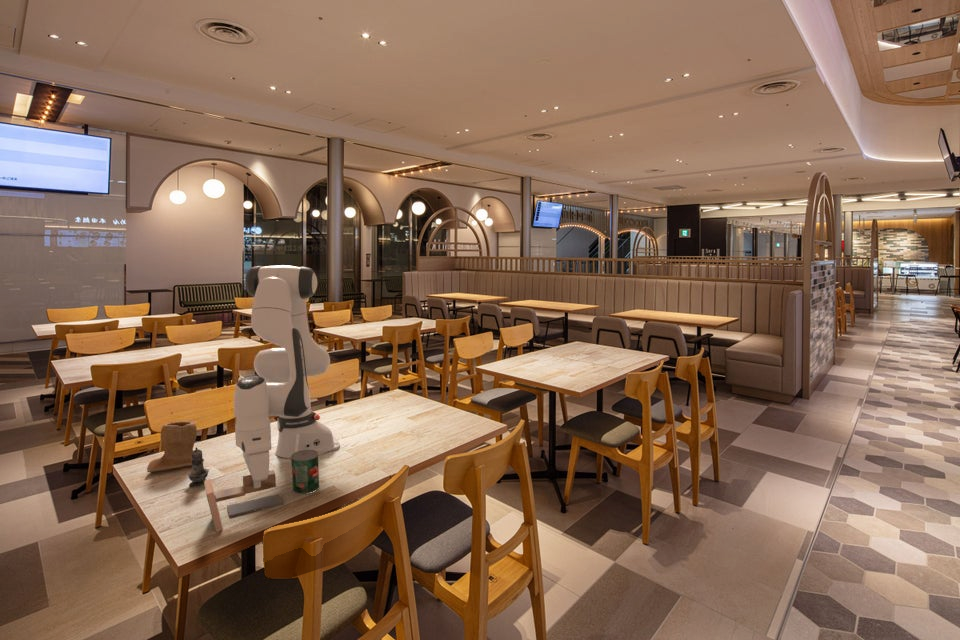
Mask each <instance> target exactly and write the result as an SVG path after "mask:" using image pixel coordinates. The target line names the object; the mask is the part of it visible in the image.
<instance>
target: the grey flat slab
mask: <svg viewBox="0 0 960 640" xmlns="http://www.w3.org/2000/svg"><path fill="white" fill-rule="evenodd" d="M280 504H281V505H284V502H283V499H282V496H281V495H280V493H275V494H271V495H268V496H263V497H258V498H254V499H251V500H246V501H243V502H238V503H237V502H236V503H235V504H230V505H227V513H228V516H229V518H233V517H236V516H240V515H244V514H249V513H253V512H256V511H255V510H257V511H260V509H261V510H264V509H263V508H265V509H268V507H269V508H272V506H273V507H277V506H280ZM276 505H277V506H276ZM252 511H253V512H252Z"/></svg>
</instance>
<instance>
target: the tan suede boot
mask: <svg viewBox="0 0 960 640" xmlns="http://www.w3.org/2000/svg"><path fill="white" fill-rule="evenodd" d="M197 434H198V433H197V424H196V423H195V422H194V421H186V420H185V421H177V422H176V421H175V422H168V423H164V424H163V425H162V427H161V430H160V439H161V444H162V448H163V451H164V452H163V453H164V454H163V455H162V456H161V457H159V458H156V459H155V458H154V459H153V460H151V461H150V462H148V465H147V467H146V468H147V469H146V470H147V473H154V472H162V471H167V470H168V471H169V470H174V469H179V468H180V469H181V468H185V467H189V466H192V463H191V461H192V452H193V451H194V446H195V443H196V439H197Z"/></svg>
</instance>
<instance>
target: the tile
mask: <svg viewBox="0 0 960 640" xmlns="http://www.w3.org/2000/svg"><path fill="white" fill-rule="evenodd" d="M204 489H205V496H206V499H207V502H208V507H209V511H210V515H211V518H212V523H213V526H214V529H215V530H214V531H215V532H217V531H218V532H220V531H222V530H223V529H224V528H223V525H222V520H221V513H220V510H219V507H218V502H216V499H215V491H214V488H213V484H212V481H211V478H209V479H208V478H207V480H205V482H204Z"/></svg>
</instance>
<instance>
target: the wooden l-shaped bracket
mask: <svg viewBox="0 0 960 640" xmlns="http://www.w3.org/2000/svg"><path fill="white" fill-rule="evenodd" d="M276 481H277V479H276V472H275V471H274V469H271V470H269V475H268V479H267V480H263V481H261V487H260V488H254V486H253V479H252V477H251V475H250V474H248V475H244V476H242V485H239V486H235V487H234V486H233V487H231V488H226V489H220V490H217V491H214V495H215V499H216V502H217V503H219V502H223V501H228V500H232V499H236V498H241V497H245V496H246V495H247V494H251V493H256V492H260V491H264V490H268V489H274V488H277V482H276Z"/></svg>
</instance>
